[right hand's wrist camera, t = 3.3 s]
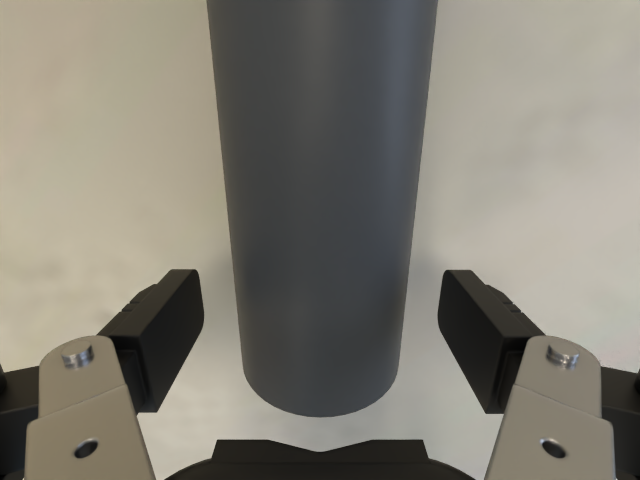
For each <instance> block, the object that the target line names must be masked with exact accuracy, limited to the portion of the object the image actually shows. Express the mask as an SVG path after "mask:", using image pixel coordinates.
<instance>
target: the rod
mask: <svg viewBox="0 0 640 480" xmlns="http://www.w3.org/2000/svg"><path fill="white" fill-rule="evenodd" d="M437 4H438V0H207V9H208V19H209V29H210V39H211V49H212V59H213V69H214V79H215V89H216V100H217V110H218V120H219V130H220V140H221V150H222V160H223V170H224V180H225V191H226V201H227V211H228V221H229V231H230V241H231V251H232V261H233V271H234V282H235V292H236V302H237V312H238V322H239V332H240V342H241V352H242V363H243V370H244V374H245V377H246V379H247V381H248V383H249V384H250V386H251V388H252V389H253V390H254V391H255V392H256V393H257V394H258V395H259V396H260V397H261V398H262V399H263V400H265V401H266V402H268V403H269V404H271V405H273V406H274V407H276V408H279V409H281V410H283V411H286V412H289V413H293V414H296V415H302V416H307V417H334V416H340V415H346V414H349V413H353V412H356V411H359V410H361V409H363V408H366V407H367V406H369V405H371V404H373V403H374V402H376V401H377V400H378V399H380V398H381V397H382V396H383V395H384V394H385V393H386V392H387V391H388V390H389V388H390V387H391V385H392V384H393V382H394V380H395V378H396V375H397V372H398V366H399V357H400V347H401V338H402V329H403V319H404V310H405V301H406V292H407V282H408V273H409V264H410V255H411V245H412V236H413V227H414V218H415V208H416V199H417V190H418V181H419V171H420V162H421V153H422V143H423V134H424V125H425V116H426V106H427V97H428V88H429V79H430V69H431V60H432V51H433V42H434V32H435V23H436V14H437Z"/></svg>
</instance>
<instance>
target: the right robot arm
mask: <svg viewBox="0 0 640 480" xmlns="http://www.w3.org/2000/svg"><path fill="white" fill-rule="evenodd" d="M203 323H204V308H203V301H202V294H201V286H200V279H199V274H198V272H197V270H195V269H172V270H170V271H169V272H168V273H167V274H166V275H165V276H164V277H163V278H162V279H161V281H160V282H159V283H158V284H153V285H152V286H150V287H148V288H146V289H144V290H143V291H141V292H139V293H138V294H137V295H136V296H135V297H134V298H133V299H132V300H131V301H130V304H127V305H126V306H125V307H124V308H123V309H122V312H119V313H118V314H117V315H116V316H115V317H114V318H113V319H112V320H111V321H110V322H109V323H108V324H107V325H106V326H105V327H104V328H103V329H102V330H101V331H100V332H99V333H98V334H97V335H96V336H86V337H81V338H78V339H74V340H72V341H69V342H67V343H64V344H62V345H60V346H58V347H57V348H55V349H54V350H52V351H51V352H49V353H48V354H47V355H46V356H45V357H44V358H43V359H42V361H41V363H40V365H39V366H35V367H30V368H25V369H20V370H15V371H10V372H5V373H4V372H3V369H2V367H1V364H0V480H22V479H23V478H24V480H156V478H155V474H154V471H153V468H152V465H151V461H150V458H149V455H148V452H147V448H146V445H145V442H144V439H143V435H142V432H141V429H140V426H139V422H138V419H137V414H138V413H139V412H158V410H159V408H160V406H161V404H162V402H163V400H164V399H165V397H166V395H167V393H168V391H169V389H170V388H171V386H172V384H173V382H174V380H175V378H176V376H177V375H178V373H179V371H180V369H181V367H182V365H183V364H184V362H185V360H186V358H187V356H188V354H189V353H190V351H191V349H192V347H193V345H194V343H195V341H196V340H197V338H198V336H199V334H200V332H201V330H202V327H203ZM438 325H439V329H440V331H441V333H442V335H443V337H444V339H445V341H446V342H447V344H448V346H449V348H450V350H451V351H452V353H453V355H454V357H455V359H456V361H457V362H458V364H459V366H460V368H461V370H462V371H463V373H464V375H465V377H466V379H467V381H468V382H469V384H470V386H471V388H472V390H473V391H474V393H475V395H476V397H477V399H478V401H479V402H480V404H481V406H482V408H483V410H484V412H485V413H486V414H504V416H503V419H502V422H501V426H500V429H499V432H498V435H497V439H496V442H495V445H494V448H493V452H492V455H491V458H490V461H489V465H488V468H487V471H486V474H485V478H484V480H616V478H617V479H618V480H640V369H639V371H638V374H637V373H632V372H627V371H622V370H617V369H612V368H607V367H602V366H601V365H600V363H599V361H598V359H597V358H596V357H595V356H594V355H593V354H592V353H591V352H589V351H588V350H586V349H585V348H583V347H582V346H580V345H578V344H576V343H573V342H571V341H568V340H566V339H562V338H559V337H554V336H546V335H545V334H544V333H543V332H542V331H541V330H540V329H539V328H538V327H537V326H536V325H535V324H534V323H533V322H532V321H531V320H530V319H529V318H528V317H527V316H526V315H525V314H524V313H521V310H520V309H519V308H518V307H517V306H516V305H515V304H513V302H512V301H511V300H510V299H509V298H508V297H507V296H506V295H505V294H504V293H502V292H500V291H499V290H497V289H495V288H493V287H491V286H490V285H485V284H484V283H483V282H482V281H481V280H480V279H479V278H478V277H477V276H476V275H475V274H474V273H473V271H471V270H446V271H445V272H444V274H443V279H442V286H441V293H440V300H439V307H438ZM165 480H475V479H474V478H472V477H471V476H469V475H467V474H466V473H464V472H462V471H460V470H458V469H456V468H454V467H452V466H450V465H448V464H445V463H442V462H439V461H437V460H433V459H430V458H428V455H427V452H426V449H425V445H424V442H423V440H369V441H365V442H361V443H357V444H353V445H349V446H345V447H341V448H337V449H333V450H329V451H325V452H315V451H311V450H307V449H303V448H299V447H295V446H291V445H287V444H283V443H279V442H275V441H271V440H217V442H216V445H215V449H214V452H213V455H212V458H211V459H207V460H203V461H201V462H198V463H195V464H192V465H190V466H188V467H186V468H184V469H182V470H180V471H178V472H176V473H174V474H173V475H171V476H169V477H168V478H166V479H165Z"/></svg>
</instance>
